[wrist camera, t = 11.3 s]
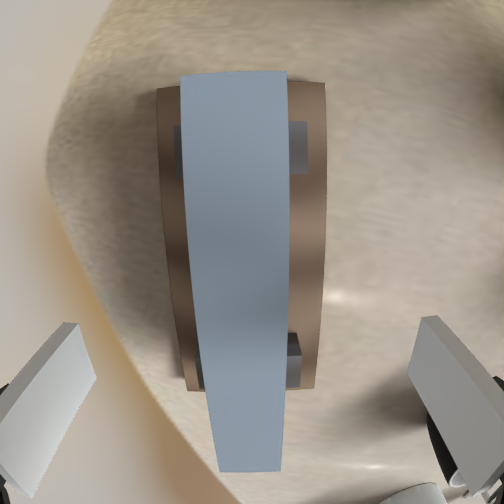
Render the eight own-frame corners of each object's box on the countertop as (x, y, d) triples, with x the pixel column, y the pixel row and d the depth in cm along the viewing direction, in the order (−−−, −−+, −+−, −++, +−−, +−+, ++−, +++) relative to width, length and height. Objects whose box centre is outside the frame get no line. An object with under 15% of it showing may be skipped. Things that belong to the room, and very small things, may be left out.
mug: (405, 432, 31) (433, 495, 21) (439, 376, 28) (482, 440, 18) (470, 423, 31) (501, 472, 22) (502, 372, 29) (543, 420, 19)
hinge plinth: (162, 92, 20) (142, 80, 16) (320, 86, 20) (336, 72, 16) (189, 380, 27) (182, 414, 23) (311, 377, 27) (319, 411, 23)
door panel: (212, 110, 19) (180, 75, 10) (269, 108, 19) (286, 71, 10) (227, 373, 25) (219, 472, 16) (271, 372, 25) (280, 471, 16)
